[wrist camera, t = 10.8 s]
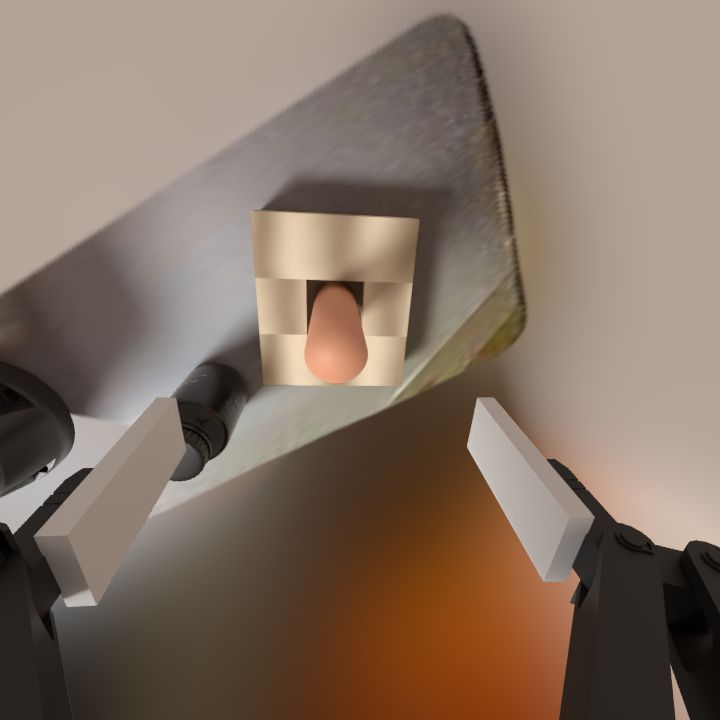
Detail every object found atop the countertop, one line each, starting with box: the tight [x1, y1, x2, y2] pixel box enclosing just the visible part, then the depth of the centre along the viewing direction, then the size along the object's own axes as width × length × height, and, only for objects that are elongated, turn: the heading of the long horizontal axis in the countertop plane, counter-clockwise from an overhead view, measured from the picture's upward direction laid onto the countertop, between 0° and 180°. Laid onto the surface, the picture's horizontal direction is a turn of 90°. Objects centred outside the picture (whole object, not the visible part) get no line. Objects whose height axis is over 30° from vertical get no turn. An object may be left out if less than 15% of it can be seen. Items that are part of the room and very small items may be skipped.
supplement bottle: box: [170, 364, 248, 481], centre depth 34 cm, size 7×7×12 cm
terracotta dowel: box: [304, 281, 368, 383], centre depth 28 cm, size 4×4×14 cm
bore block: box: [250, 210, 420, 386], centre depth 34 cm, size 14×16×4 cm
